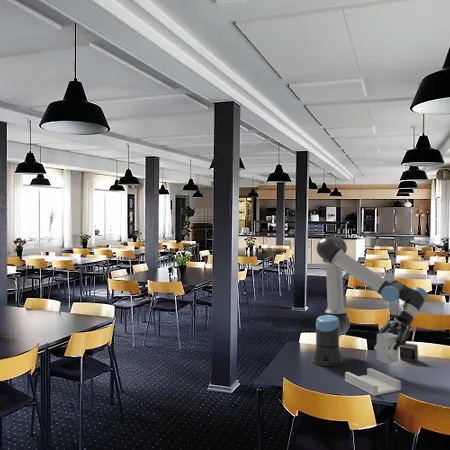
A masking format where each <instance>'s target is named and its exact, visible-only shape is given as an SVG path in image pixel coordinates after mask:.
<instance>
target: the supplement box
mask: <svg viewBox="0 0 450 450" xmlns="http://www.w3.org/2000/svg"><path fill="white" fill-rule="evenodd" d="M397 337H398V334H394V333H380V334H378V333H376V344H377V351H376V358H375V359H376V360H377V361H378V362H379V361H380V362H381V363H385V364H387V365H388V364H393V363H394V364H395V363H398V362H399V360H400V359H399V358H400V351H399V348H398V349H397V350H395V352H394V353H393V355H392V357H391V356H390V355H389V354H388V351H389V349H390V348H391V346H392V345H393V343H394V342H396V340H397ZM396 343H397V342H396Z"/></svg>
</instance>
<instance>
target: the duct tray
mask: <svg viewBox="0 0 450 450" xmlns="http://www.w3.org/2000/svg"><path fill="white" fill-rule="evenodd" d="M344 381H345V382H346V383H348V384H350V385H352V386H354V387H356V388H358V389H360V390H362V391H364V392H366V393H368V394H369V395H372V396H374V397H375V396H379V395H384V394H389V393H393V392H398V391H401V389H402V381H401V380H399V379H397V378H395V377H392V376H390V375H389V374H386V373H383V372H381V371H379V370H376V369H375V368H371V367H369V368H367V369H366V374H363V375H359V376H358V375H356V374H354V373H352V372H351V371H350V372H349V371H346V372H344Z"/></svg>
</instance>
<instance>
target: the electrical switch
mask: <svg viewBox="0 0 450 450" xmlns="http://www.w3.org/2000/svg"><path fill="white" fill-rule="evenodd" d="M399 358H400V359H399V360H401V361H408V362H412V363H413V362H414V363H416V362H417V361H419V345H418V344H416V343H409V342H406V344H405V345H404V346H403V345H400V346H399Z"/></svg>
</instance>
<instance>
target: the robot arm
mask: <svg viewBox="0 0 450 450" xmlns="http://www.w3.org/2000/svg"><path fill="white" fill-rule="evenodd" d="M347 246H348V245H347V243H346V242H345V240H344V239H343V238H341V237H339V236H329V237H322V238H321V239H320V240H319V241H318V242H317V244H316V252H317V255H318V256H319V257H320V258H321V259H322V262H323V263H324V264H325V271H326V273H325V275H326V296H327V301H326V302H327V308H326V310H324V315H320V316H318V317H317V318H316V322H315V337H316V338H315V350H314V353H313V355H312V362H313V363H314V364H315V365H318V366H322V367H338V366H342V365H343V356H342V353H341V350H340V337H341V336H343V335H345V334H346V333H347V332H348V331H349V328H350V325H351V321H350V319H349V317H348V311H347V310H346V309H345V305H344V304H345V303H344V301H345V300H344V283H343V282H344V281H343V280H344V279H343V276H344V275H343V271H344V272H345V273H347V274H348V275H350V276H352V277H353V278H354V279H356V280H357V281H359V282H361V283H362V284H364V285H365V286H366V287H368V288H369V289H371V290H373V291H374V292H376V293H377V294H378V295H380V296H381V298H382V300H384V301H385V302H388V303H392V302H395V301H397V300H398V299H399V300H400V301H403V302H404V303H403V305H401V307H400V309H399V311H397V314H396V315H395V318H394V320H390V319H388V320H386V321H387V322H386V323H385V324H384V326H383V327H382V328H381V329H380V330H379V331H378V333H377V334H380V333H392V334H394V333H395V332H397V335H398V337H397V340H396V342H397V343H396V342H394V343H393V345H392V346H391V348H390V349H389V351H388V354H389V355H390V356H391V357H392V355H393V353H394V352H395V350H397V349H398V348H399V346H400V345H403V346H404V345H405V344H406V343H407V341H408V340H409V337H410V334H411V333H412V332H413V330H414V328H413V327H412V326H411V325H412V322H413V321H414V319H415V318H416V316H417V314H418V313H419V312H420V310H421V308H423V306H424V304H425V302H426V301H427V298H428V296H429V294H428V292H427V291H426V289H424V288H423V287H419V286H414V287H413V288H411V287H409V286H407V285H405V284H404V283H402V282H401V281H399V280H398V279H394V278H389V279H388V280H386V278H383V277H382V276H381V275H379V274H377V273H375V271H373V270H371V269H370V268H368V267H366V266H365V265H363V264H362V263H360V262H359V261H357V260H355V259H354V258H352V257H351V256H350V255H348V254H347V251H348V247H347ZM373 349H374V350H375V352H377V343H376V344H375V345H374V347H373Z"/></svg>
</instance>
